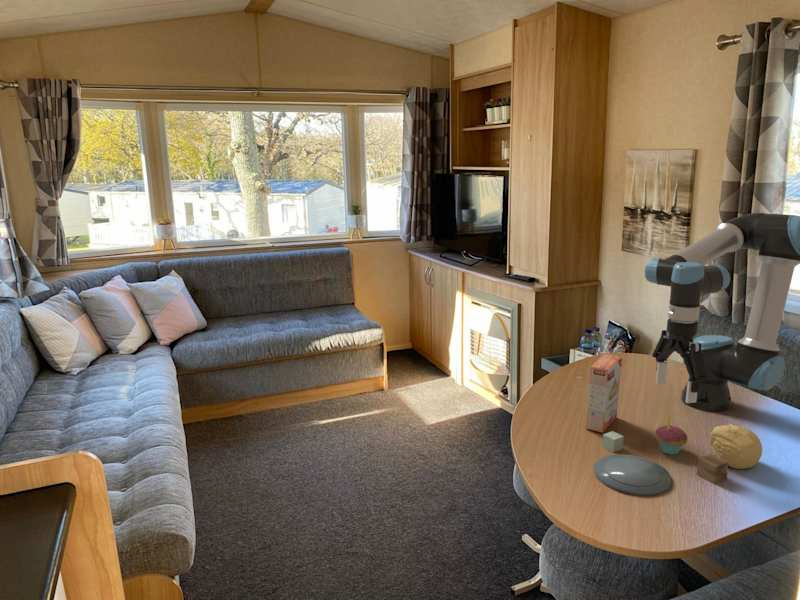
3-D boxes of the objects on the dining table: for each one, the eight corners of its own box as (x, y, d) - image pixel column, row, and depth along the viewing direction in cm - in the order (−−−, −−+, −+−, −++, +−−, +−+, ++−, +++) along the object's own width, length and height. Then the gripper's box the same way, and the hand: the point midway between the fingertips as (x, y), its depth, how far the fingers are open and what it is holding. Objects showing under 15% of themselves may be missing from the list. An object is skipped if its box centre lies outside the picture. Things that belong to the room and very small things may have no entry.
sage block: (611, 443, 176) (612, 431, 175) (622, 448, 173) (623, 436, 172) (602, 446, 174) (603, 434, 173) (613, 452, 171) (614, 439, 170)
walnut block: (709, 470, 161) (711, 453, 159) (726, 479, 156) (728, 462, 155) (696, 475, 159) (698, 458, 157) (713, 484, 154) (715, 466, 153)
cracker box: (604, 434, 182) (609, 369, 176) (585, 429, 185) (589, 366, 180) (618, 417, 192) (623, 356, 187) (599, 413, 196) (603, 353, 191)
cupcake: (670, 460, 166) (674, 420, 163) (646, 447, 174) (650, 408, 171) (692, 453, 169) (697, 414, 166) (668, 440, 177) (672, 403, 174)
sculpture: (701, 458, 167) (705, 422, 164) (730, 449, 172) (735, 414, 169) (738, 478, 157) (743, 440, 154) (768, 467, 161) (774, 431, 159)
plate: (643, 454, 169) (644, 450, 169) (686, 490, 151) (687, 486, 151) (581, 461, 166) (581, 457, 166) (618, 499, 148) (618, 495, 148)
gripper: (643, 308, 173) (637, 377, 178) (701, 334, 149) (692, 412, 154) (667, 307, 174) (660, 375, 179) (727, 332, 151) (717, 409, 156)
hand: (675, 392), depth 167 cm, fingers open, 13 cm apart
